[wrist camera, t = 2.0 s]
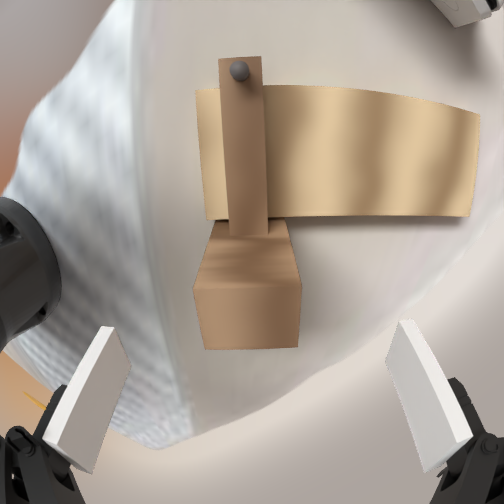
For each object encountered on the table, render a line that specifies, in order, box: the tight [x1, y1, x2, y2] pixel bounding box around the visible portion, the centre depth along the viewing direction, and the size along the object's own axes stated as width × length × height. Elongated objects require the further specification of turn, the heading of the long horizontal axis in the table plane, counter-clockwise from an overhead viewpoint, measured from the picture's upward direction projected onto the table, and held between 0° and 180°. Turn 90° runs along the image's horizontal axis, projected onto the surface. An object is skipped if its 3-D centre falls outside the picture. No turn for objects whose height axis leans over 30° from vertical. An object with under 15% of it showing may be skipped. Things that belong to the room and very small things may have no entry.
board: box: [195, 85, 480, 220], centre depth 19 cm, size 22×9×2 cm, turn 93°
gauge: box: [193, 56, 302, 350], centre depth 16 cm, size 5×15×10 cm, turn 3°
